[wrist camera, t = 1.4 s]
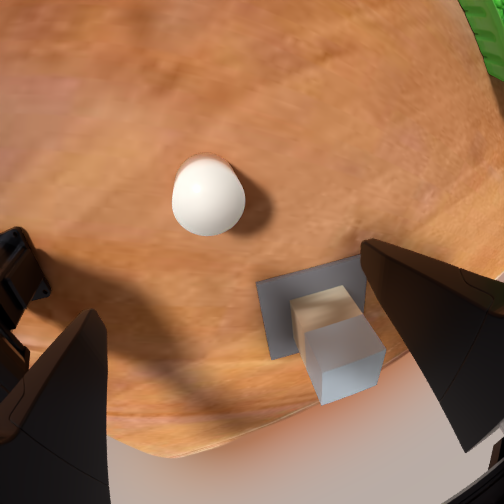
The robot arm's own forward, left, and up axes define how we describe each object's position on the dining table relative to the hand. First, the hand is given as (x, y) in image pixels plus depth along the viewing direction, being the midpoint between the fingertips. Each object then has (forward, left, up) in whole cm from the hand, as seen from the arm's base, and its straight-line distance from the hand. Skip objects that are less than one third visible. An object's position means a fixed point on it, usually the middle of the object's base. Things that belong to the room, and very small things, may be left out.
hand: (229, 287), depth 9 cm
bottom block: (+7, -14, -12) cm, 20 cm away
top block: (+7, -14, -8) cm, 18 cm away
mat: (+7, -14, -12) cm, 20 cm away
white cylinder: (0, 0, -12) cm, 12 cm away
